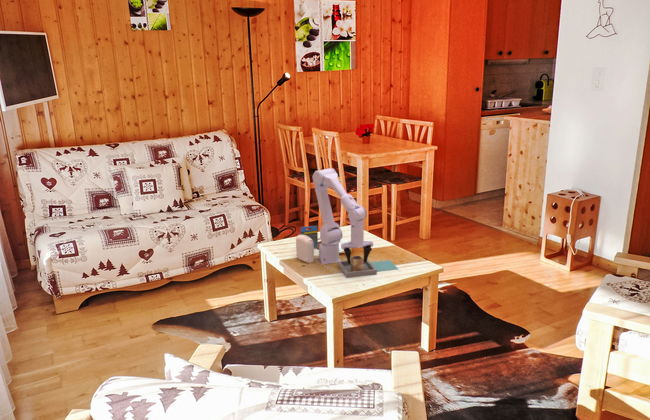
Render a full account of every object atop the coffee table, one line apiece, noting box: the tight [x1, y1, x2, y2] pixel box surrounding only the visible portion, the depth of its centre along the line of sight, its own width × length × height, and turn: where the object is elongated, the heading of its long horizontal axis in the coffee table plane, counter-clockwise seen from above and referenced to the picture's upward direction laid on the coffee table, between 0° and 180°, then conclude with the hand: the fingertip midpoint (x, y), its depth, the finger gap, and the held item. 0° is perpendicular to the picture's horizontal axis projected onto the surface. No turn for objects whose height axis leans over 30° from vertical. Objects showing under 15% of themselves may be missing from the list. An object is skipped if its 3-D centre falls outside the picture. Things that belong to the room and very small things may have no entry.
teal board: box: [369, 259, 399, 273], centre depth 237 cm, size 11×11×1 cm
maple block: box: [350, 254, 364, 272], centre depth 233 cm, size 4×4×6 cm
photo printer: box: [295, 234, 315, 264], centre depth 245 cm, size 10×4×12 cm, turn 39°
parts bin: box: [337, 258, 378, 279], centre depth 233 cm, size 14×14×2 cm
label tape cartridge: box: [298, 225, 319, 249], centre depth 260 cm, size 9×4×12 cm, turn 107°
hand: (357, 262), depth 232 cm, fingers open, 7 cm apart
